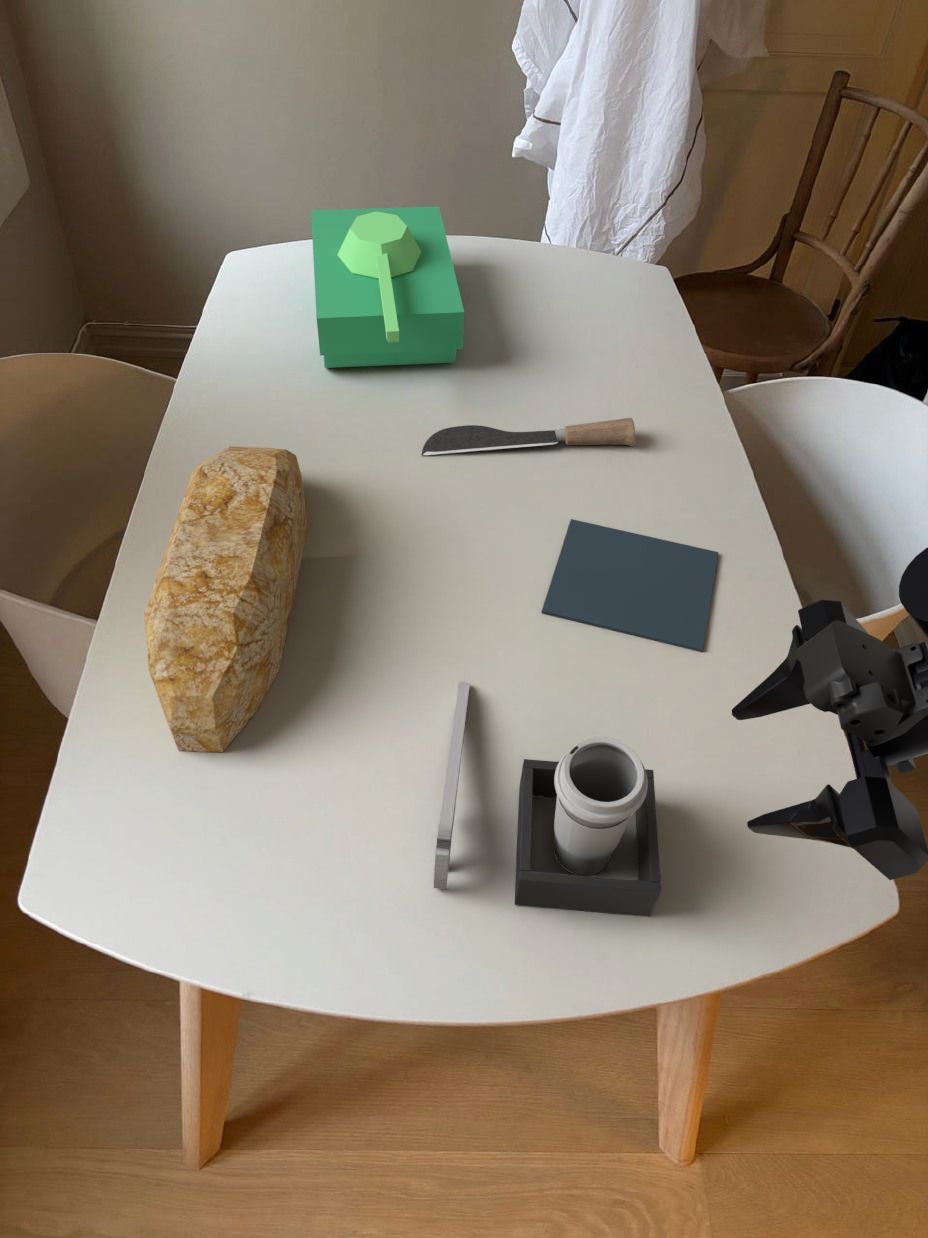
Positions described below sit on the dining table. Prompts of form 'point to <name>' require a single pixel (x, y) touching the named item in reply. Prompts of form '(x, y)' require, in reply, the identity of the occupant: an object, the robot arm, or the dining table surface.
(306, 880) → the dining table surface
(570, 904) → the holder
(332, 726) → the dining table surface
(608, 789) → the cup
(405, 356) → the toy tank
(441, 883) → the caliper
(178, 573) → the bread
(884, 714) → the robot arm
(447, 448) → the hand tool
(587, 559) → the mat
